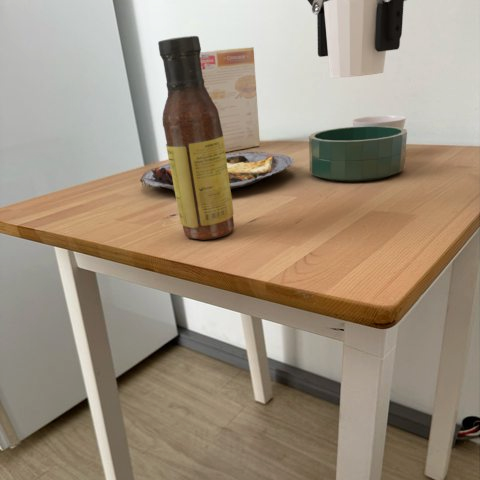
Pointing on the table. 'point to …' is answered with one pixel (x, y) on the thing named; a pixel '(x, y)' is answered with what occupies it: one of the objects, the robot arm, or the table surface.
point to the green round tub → (357, 153)
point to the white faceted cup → (352, 38)
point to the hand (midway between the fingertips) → (356, 51)
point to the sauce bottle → (195, 143)
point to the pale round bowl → (380, 121)
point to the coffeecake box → (233, 94)
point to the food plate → (230, 169)
